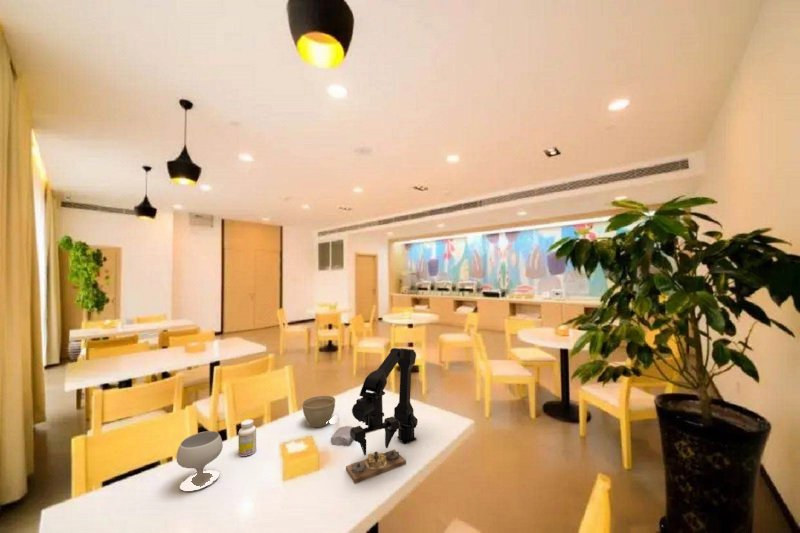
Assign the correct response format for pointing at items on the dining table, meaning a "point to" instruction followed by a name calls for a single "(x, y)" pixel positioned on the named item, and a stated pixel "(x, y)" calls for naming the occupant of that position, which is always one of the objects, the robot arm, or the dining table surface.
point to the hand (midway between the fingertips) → (375, 451)
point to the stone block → (342, 437)
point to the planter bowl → (318, 410)
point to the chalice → (199, 454)
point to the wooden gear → (376, 460)
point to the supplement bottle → (247, 438)
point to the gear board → (363, 472)
